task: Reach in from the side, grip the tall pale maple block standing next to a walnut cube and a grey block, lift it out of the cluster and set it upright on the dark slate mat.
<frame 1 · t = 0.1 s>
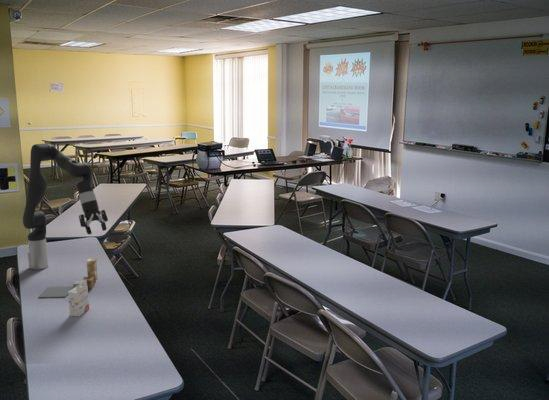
hand: (97, 232, 241), 31 cm above the table, tool tilted 20°, fingers open, 8 cm apart
ink cartridge box: (79, 312, 222), on the table
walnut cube: (88, 287, 251), on the table
maple block: (92, 281, 260), on the table
grey block: (80, 293, 244), on the table
slate mat: (56, 292, 244), on the table
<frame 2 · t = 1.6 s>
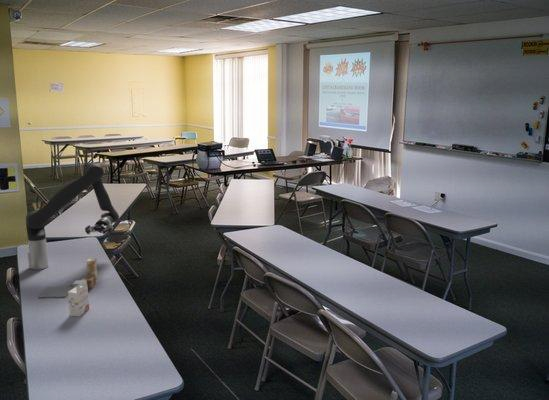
hand: (95, 232, 266), 24 cm above the table, tool horizontal, fingers open, 8 cm apart
nothing on the table moved.
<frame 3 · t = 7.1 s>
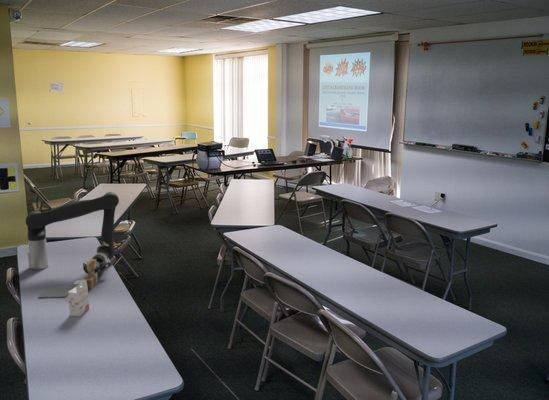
hand: (90, 271, 256), 7 cm above the table, tool horizontal, fingers closed on maple block, 4 cm apart
maple block: (92, 280, 260), on the table, touching gripper
everything else where it was.
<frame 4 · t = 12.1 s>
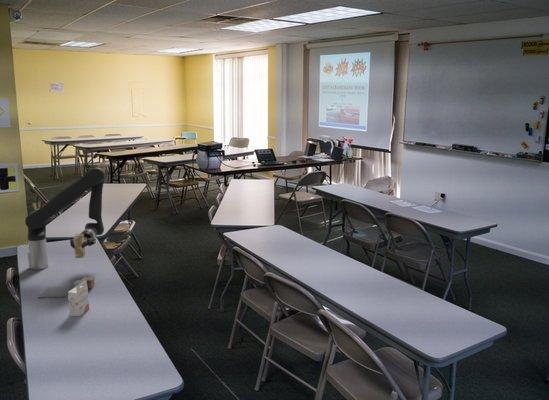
hand: (78, 246, 248), 22 cm above the table, tool horizontal, fingers closed on maple block, 4 cm apart
maple block: (80, 256, 252), point 15 cm above the table, touching gripper
everything else where it was.
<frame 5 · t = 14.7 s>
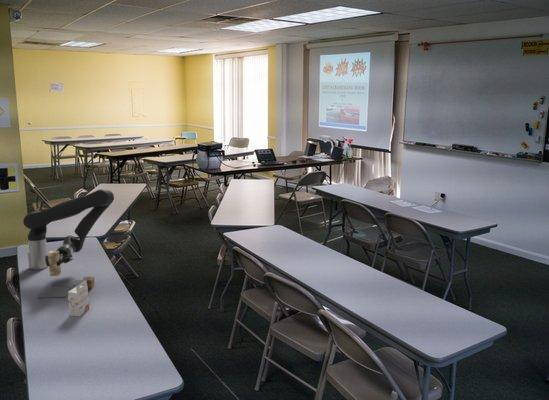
hand: (52, 264, 238), 16 cm above the table, tool horizontal, fingers closed on maple block, 4 cm apart
maple block: (55, 274, 242), point 10 cm above the table, touching gripper
everything else where it was.
when the fingers open (8 cm above the table, at t = 17.2 s): maple block drops 1 cm, resting on slate mat.
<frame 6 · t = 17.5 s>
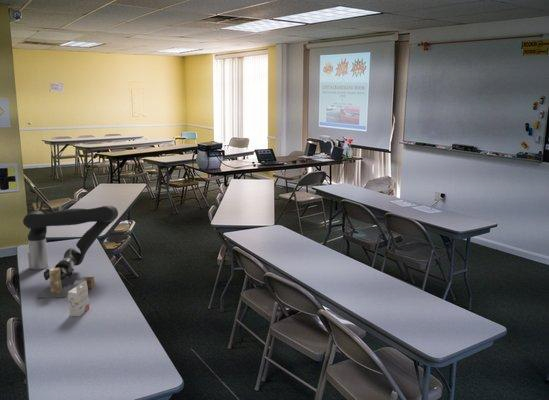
hand: (53, 278, 240), 9 cm above the table, tool horizontal, fingers open, 7 cm apart
maple block: (56, 291, 244), point 1 cm above the table, touching slate mat
everything else where it was.
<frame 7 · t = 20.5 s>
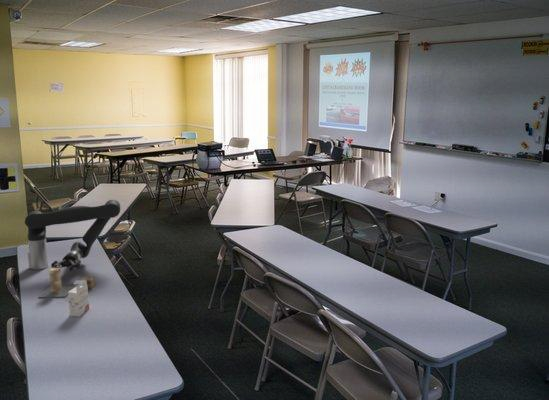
hand: (62, 269, 252), 9 cm above the table, tool horizontal, fingers open, 8 cm apart
nothing on the table moved.
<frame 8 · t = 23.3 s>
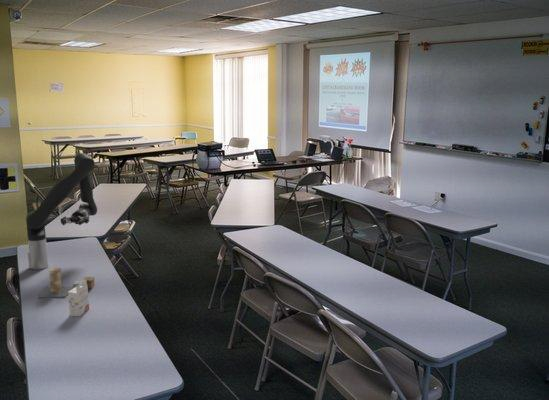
hand: (71, 223, 261), 30 cm above the table, tool horizontal, fingers open, 8 cm apart
nothing on the table moved.
at the end: maple block inside the target area on the slate mat (0.1 cm from its centre), point 0.6 cm above the slate mat's base; maple block tilted 0°; the gripper is holding nothing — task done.
